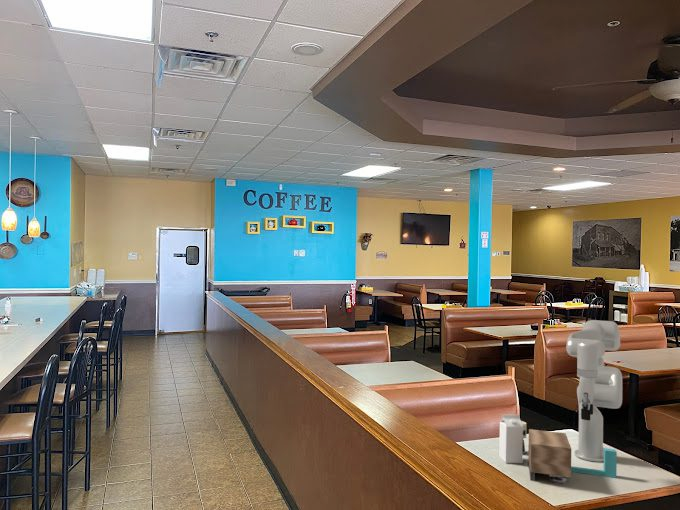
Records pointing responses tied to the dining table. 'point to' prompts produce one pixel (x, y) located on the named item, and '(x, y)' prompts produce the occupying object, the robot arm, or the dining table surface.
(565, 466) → the cabinet
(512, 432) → the milk carton
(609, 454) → the scraper
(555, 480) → the grey flat disc
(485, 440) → the dining table surface
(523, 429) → the character mug
